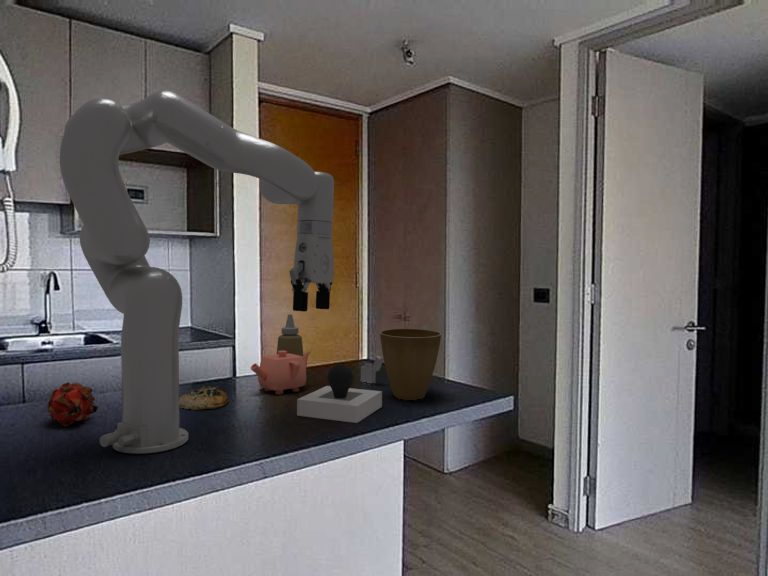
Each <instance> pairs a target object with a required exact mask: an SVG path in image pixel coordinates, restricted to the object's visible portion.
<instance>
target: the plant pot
mask: <svg viewBox="0 0 768 576" xmlns="http://www.w3.org/2000/svg"><path fill="white" fill-rule="evenodd" d="M379 335H380V344H381V351H382V357H383V358H384V360H383V363H384V367H385V370H386V373H387V375H386V376H387V379H388V382H389V384H390V388H391V391H392V394H393V396H395V397H396V399H397V398H398V399H397V400H400V399H403V400H402V401H407V400H414V401H418V400H417V399H421V400H423V399H424V398H425V396H426V395H427V392H428V390H429V387H430V384H431V381H432V378H433V375H434V371H435V367H436V364H437V359H438V355H439V352H440V351H439V350H440V344H441V339H442V332H440V331H436V330H431V329H422V328H388V329H384V330H381V331H380V332H379ZM395 397H394V398H395ZM422 398H423V399H422Z"/></svg>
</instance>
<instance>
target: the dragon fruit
mask: <svg viewBox="0 0 768 576" xmlns="http://www.w3.org/2000/svg"><path fill="white" fill-rule="evenodd" d="M92 392H93V388H92V387H90V386H86V385H85V386H84V385H83V384H82V383H80V382H72V383H70V382H64V383H61V385H60V387H59V389H57V388H55V389H54V390H53V391H52V392H51V393H50V394H49V396H48V398H49V400H48V402H47V406H46V410H47V412H49V413H50V414H49V415H50V418H51V420H52V421H57V422H58V423H59V424H60V425H61V426H64V427H70V426H72V425H73V424H74V422H78V421H79V422H82V421H81V420H84V421H86V420H87V419H88V418H89V417H90V416H91V414H94V413H97V411H98V410H99V405H95V402H94V401H95V400H96V398H95V396H94V395H93V394H92ZM72 423H73V424H72ZM71 424H72V425H71Z"/></svg>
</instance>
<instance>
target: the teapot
mask: <svg viewBox="0 0 768 576" xmlns="http://www.w3.org/2000/svg"><path fill="white" fill-rule="evenodd" d="M312 352H313V350H307V351H305V352H303V357H302V356H299V355H294V354H289V353H287V351H278V354H277V353H275V354H269V355H263V356H261V359H260V363H259V365H258V363H254V364H252V365H251V366H250V371H253V373H255V374H256V375H257V381H258V384H259V386H260V387H262V388H264V391H265V392H271V391H275V392H274V395H284V390H290V389H291V391H292V392H300V391H301V390H300V387H304V386H305V385H306V383H307V366H308V359H309V356H310V354H311V353H312Z"/></svg>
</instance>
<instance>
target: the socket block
mask: <svg viewBox="0 0 768 576" xmlns="http://www.w3.org/2000/svg"><path fill="white" fill-rule="evenodd" d="M382 407H383V391H382V390H381V391H380V390H373V389H372V390H371V389H359V388H352V387H350V388H349V390H348V392H347V397H346V401H345V400H336V399H334V395H333V391H332V389H331V387H330V385H326V386H323V387H321V388H318V389H317V390H315V391H312V392H310V393H308V394H306V395H304V396H301V397H299V398H297V399H296V416H299V417H305V418H306V417H307V418H314V419H321V420H322V419H323V420H328V421H329V420H330V421H338V422H339V421H340V422H346V423H353V424H354V423H355V424H359V422H361V421H363V420H364V419H366V418H368V416H370V415H372V414H373V413H374V412H376V411H377V410H379V409H381V408H382Z"/></svg>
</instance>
